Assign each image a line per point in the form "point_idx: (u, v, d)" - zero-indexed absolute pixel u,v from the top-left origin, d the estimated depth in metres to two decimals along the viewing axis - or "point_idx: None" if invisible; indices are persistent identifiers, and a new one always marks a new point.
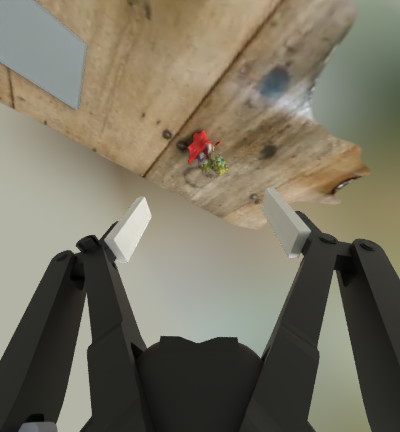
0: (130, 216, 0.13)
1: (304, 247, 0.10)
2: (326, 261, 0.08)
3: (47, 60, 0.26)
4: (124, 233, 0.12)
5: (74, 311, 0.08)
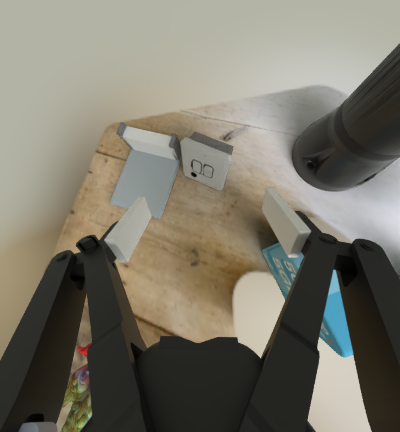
0: (130, 216, 0.13)
1: (303, 247, 0.10)
2: (326, 261, 0.08)
3: (140, 190, 0.32)
4: (124, 233, 0.12)
5: (74, 311, 0.08)
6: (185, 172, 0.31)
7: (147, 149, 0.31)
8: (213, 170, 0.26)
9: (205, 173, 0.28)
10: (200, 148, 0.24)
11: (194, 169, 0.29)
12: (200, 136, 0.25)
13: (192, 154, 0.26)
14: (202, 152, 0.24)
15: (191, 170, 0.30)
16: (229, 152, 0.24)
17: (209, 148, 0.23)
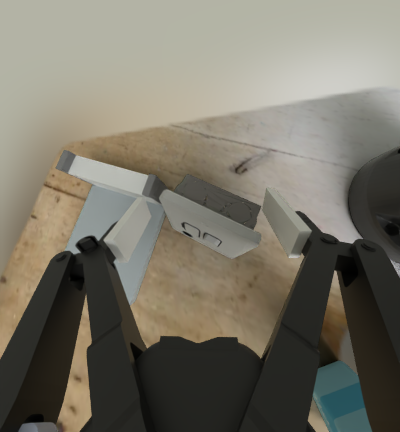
0: (129, 216, 0.13)
1: (304, 248, 0.10)
2: (327, 261, 0.08)
3: None
4: (124, 233, 0.12)
5: (74, 311, 0.08)
6: (174, 228, 0.19)
7: (114, 190, 0.20)
8: (221, 242, 0.15)
9: (206, 241, 0.16)
10: (197, 215, 0.12)
11: (188, 231, 0.17)
12: (197, 183, 0.14)
13: (182, 216, 0.14)
14: (200, 220, 0.12)
15: (183, 229, 0.18)
16: (254, 220, 0.12)
17: (215, 217, 0.12)
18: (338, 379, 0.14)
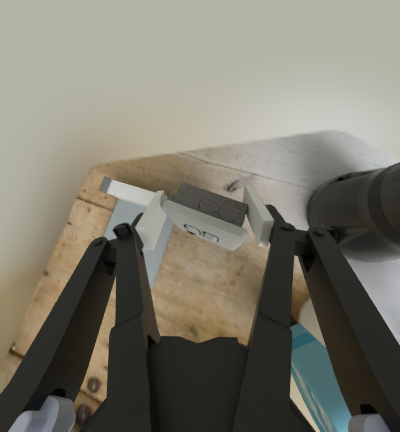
0: (154, 207, 0.14)
1: (270, 236, 0.11)
2: (287, 247, 0.09)
3: None
4: (151, 222, 0.13)
5: (102, 296, 0.09)
6: (179, 228, 0.22)
7: (137, 204, 0.26)
8: (218, 238, 0.17)
9: None
10: (193, 219, 0.14)
11: (190, 230, 0.19)
12: (192, 190, 0.16)
13: (182, 220, 0.16)
14: (197, 222, 0.15)
15: (186, 229, 0.20)
16: (242, 218, 0.14)
17: (207, 219, 0.14)
18: (294, 333, 0.22)
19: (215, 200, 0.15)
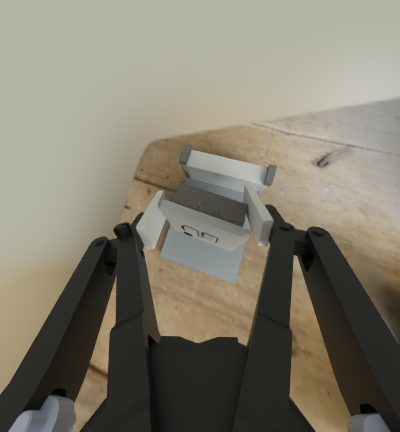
0: (154, 207, 0.14)
1: (269, 236, 0.11)
2: (287, 246, 0.09)
3: None
4: (151, 222, 0.13)
5: (103, 295, 0.09)
6: (175, 229, 0.21)
7: (215, 181, 0.22)
8: (218, 239, 0.17)
9: (205, 239, 0.18)
10: (193, 219, 0.14)
11: (188, 231, 0.19)
12: (190, 190, 0.15)
13: (181, 221, 0.16)
14: (197, 223, 0.14)
15: (183, 230, 0.20)
16: (243, 218, 0.14)
17: (209, 219, 0.13)
18: None
19: (215, 200, 0.15)
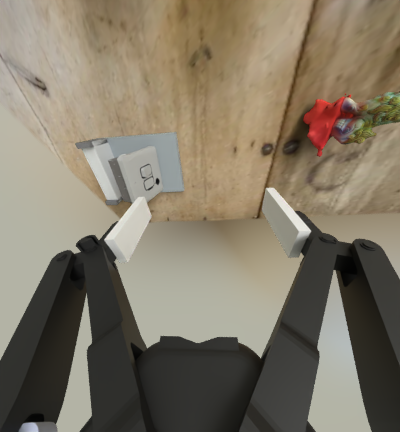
0: (130, 216, 0.13)
1: (304, 247, 0.10)
2: (326, 261, 0.08)
3: None
4: (124, 233, 0.12)
5: (74, 311, 0.08)
6: (160, 189, 0.32)
7: None
8: (142, 166, 0.25)
9: (149, 172, 0.27)
10: (132, 190, 0.24)
11: (152, 183, 0.29)
12: (123, 195, 0.27)
13: (142, 193, 0.27)
14: (134, 186, 0.25)
15: (155, 185, 0.30)
16: (115, 161, 0.23)
17: (126, 182, 0.24)
18: None
19: (118, 180, 0.25)
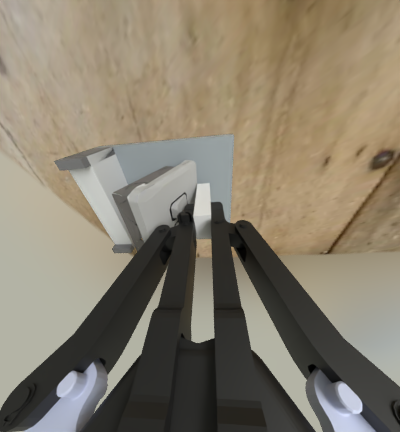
0: (202, 198, 0.14)
1: None
2: (223, 237, 0.10)
3: None
4: None
5: (153, 282, 0.09)
6: None
7: None
8: (173, 201, 0.14)
9: None
10: None
11: None
12: (138, 246, 0.15)
13: None
14: None
15: None
16: (125, 197, 0.11)
17: (145, 237, 0.12)
18: None
19: (131, 226, 0.14)
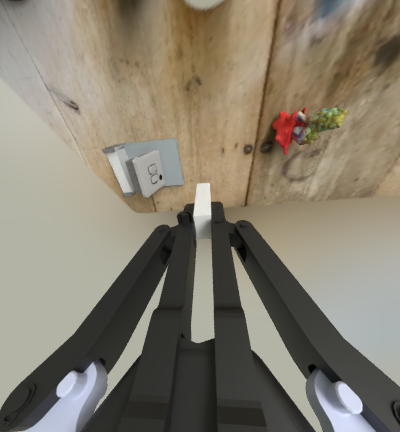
0: (202, 198, 0.14)
1: (211, 229, 0.13)
2: (224, 237, 0.10)
3: (163, 166, 0.39)
4: None
5: (153, 282, 0.09)
6: (163, 183, 0.41)
7: None
8: (149, 165, 0.34)
9: (154, 170, 0.36)
10: (143, 183, 0.33)
11: (157, 179, 0.37)
12: (135, 187, 0.35)
13: (149, 186, 0.35)
14: (144, 180, 0.33)
15: (159, 180, 0.39)
16: (130, 162, 0.31)
17: (138, 177, 0.32)
18: None
19: (132, 176, 0.33)
